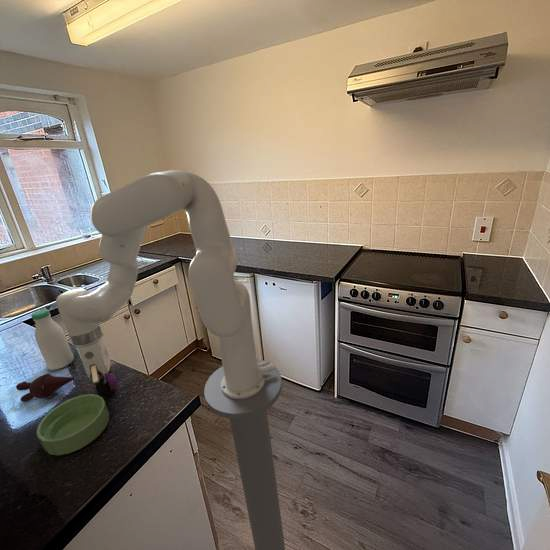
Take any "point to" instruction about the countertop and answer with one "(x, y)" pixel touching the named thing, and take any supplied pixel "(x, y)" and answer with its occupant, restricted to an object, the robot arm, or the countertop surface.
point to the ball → (110, 379)
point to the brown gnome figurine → (42, 386)
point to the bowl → (73, 424)
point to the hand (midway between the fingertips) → (106, 386)
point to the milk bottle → (51, 341)
